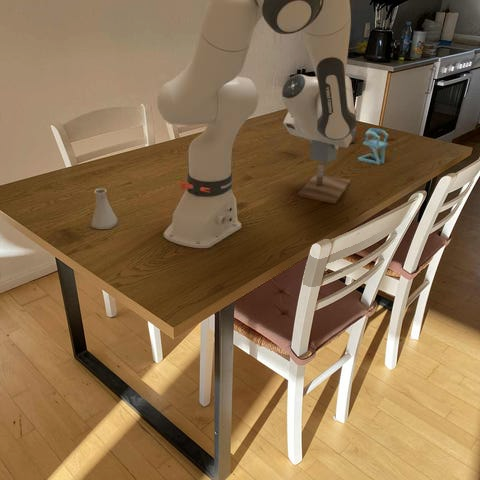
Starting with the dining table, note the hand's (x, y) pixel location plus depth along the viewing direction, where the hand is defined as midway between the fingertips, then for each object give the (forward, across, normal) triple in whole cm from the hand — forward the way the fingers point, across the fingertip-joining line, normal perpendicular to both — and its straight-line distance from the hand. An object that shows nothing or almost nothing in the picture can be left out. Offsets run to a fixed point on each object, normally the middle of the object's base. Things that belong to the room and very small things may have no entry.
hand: (325, 144), depth 151 cm
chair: (+36, -1, -15) cm, 39 cm away
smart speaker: (+45, +19, -24) cm, 54 cm away
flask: (-33, +32, +54) cm, 71 cm away
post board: (+10, -1, +10) cm, 15 cm away
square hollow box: (+3, 0, +4) cm, 4 cm away
